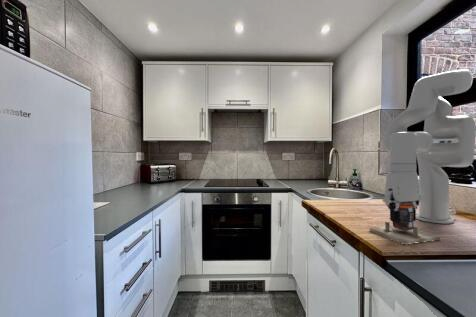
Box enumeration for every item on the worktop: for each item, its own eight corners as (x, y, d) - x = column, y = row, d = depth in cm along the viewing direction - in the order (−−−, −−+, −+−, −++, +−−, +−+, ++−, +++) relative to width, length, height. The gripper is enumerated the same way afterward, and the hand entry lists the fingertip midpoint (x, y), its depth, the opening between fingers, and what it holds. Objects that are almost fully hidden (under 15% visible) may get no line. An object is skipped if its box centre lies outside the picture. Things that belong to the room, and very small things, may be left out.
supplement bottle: (417, 231, 79) (417, 196, 78) (397, 230, 80) (396, 196, 80) (408, 225, 85) (408, 193, 84) (389, 224, 86) (389, 193, 85)
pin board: (400, 227, 91) (400, 216, 91) (439, 240, 77) (439, 227, 77) (369, 230, 87) (369, 219, 87) (404, 245, 74) (404, 231, 74)
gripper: (412, 166, 87) (412, 215, 88) (372, 168, 83) (373, 220, 84) (433, 168, 80) (433, 221, 81) (391, 170, 76) (391, 226, 77)
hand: (402, 220), depth 82 cm, fingers closed on supplement bottle, 5 cm apart
